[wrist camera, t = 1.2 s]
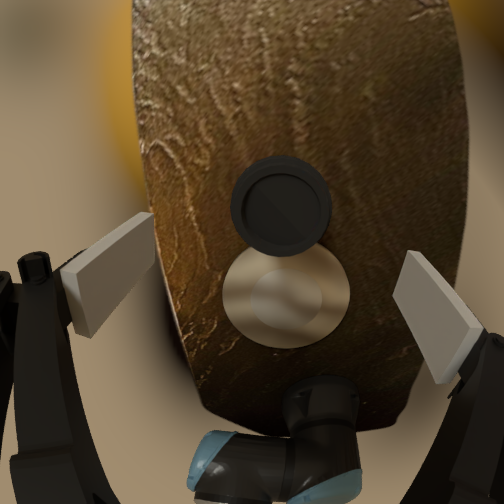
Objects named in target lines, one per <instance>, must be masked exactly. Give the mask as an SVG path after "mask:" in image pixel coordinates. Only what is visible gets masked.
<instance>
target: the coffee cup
mask: <svg viewBox="0 0 504 504" xmlns="http://www.w3.org/2000/svg"><path fill="white" fill-rule="evenodd" d="M230 209H231V216H232V221H233V223H234V226H235V228H236V230H237V232H238V233H239V235H240V236H241V237H242V238H243V240H244V241H245V242H246V243H247V244H249V245H250V246H251V247H252V248H254V249H255V250H256V251H259V252H261V253H263V254H265V255H269V256H274V257H291V256H294V255H297V254H300V253H303V252H304V251H306V250H308V249H309V248H311V247H312V246H314V245H315V244H316V243H317V242H318V241H319V240H320V238H321V237H322V236H323V235H324V233H325V231H326V229H327V228H328V226H329V223H330V218H331V214H332V202H331V195H330V192H329V189H328V186H327V183H326V182H325V180H324V179H323V177H322V176H321V174H320V173H319V172H318V171H317V170H316V169H315V168H314V167H312V166H311V165H310V164H309V163H307V162H305V161H302V160H300V159H298V158H295V157H290V156H284V155H281V156H270V157H267V158H264V159H261V160H259V161H256V162H255V163H254V164H252V165H251V166H249V167H248V168H247V169H246V170H245V171H244V172H243V173H242V175H241V176H240V177H239V178H238V180H237V182H236V185H235V187H234V189H233V193H232V198H231V205H230Z"/></svg>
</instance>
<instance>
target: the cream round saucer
mask: <svg viewBox="0 0 504 504" xmlns="http://www.w3.org/2000/svg"><path fill="white" fill-rule="evenodd" d="M349 298H350V289H349V283H348V279H347V277H346V274H345V271H344V269H343V267H342V265H341V263H340V262H339V260H338V259H337V258H336V257H335V255H333V254H332V253H331V252H330V251H329V250H328V249H326V248H325V247H324V246H322V245H320V244H318V243H316V244H315V245H314V246H312V247H311V248H309V249H308V250H306V251H304V252H303V253H300V254H297V255H294V256H291V257H274V256H269V255H265V254H263V253H261V252H259V251H256V250H255V249H254V248H252V247H251V246H250V247H248V248H247V249H245V250H244V251H243V252H242V253H241V254H240V255H239V256H238V257H237V258H236V259H235V260H234V262H233V263H232V265H231V266H230V269H229V271H228V273H227V275H226V278H225V281H224V285H223V304H224V308H225V311H226V313H227V315H228V317H229V319H230V321H231V322H232V324H233V325H234V326H235V327H236V328H237V329H238V330H239V331H240V332H241V333H242V334H243V335H245V336H246V337H248V338H249V339H251V340H253V341H255V342H257V343H260V344H262V345H266V346H269V347H275V348H297V347H302V346H306V345H309V344H312V343H314V342H317V341H319V340H321V339H322V338H324V337H325V336H327V335H328V334H329V333H331V332H332V331H333V330H334V329H335V328H336V327H337V326H338V324H339V323H340V322H341V320H342V319H343V317H344V315H345V313H346V311H347V308H348V304H349Z"/></svg>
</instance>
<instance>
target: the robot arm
mask: <svg viewBox="0 0 504 504" xmlns="http://www.w3.org/2000/svg"><path fill="white" fill-rule="evenodd" d="M154 262H155V255H154V214H153V213H144V212H140V213H138V214H137V215H135V216H134V217H133V218H131V219H129V220H128V221H126V222H125V223H123V224H122V225H120V226H119V227H118V228H116V229H115V230H113V231H112V232H110V233H109V234H108V235H106V236H105V237H103V238H102V239H100V240H99V241H98V242H96V243H95V244H93V245H92V246H91V247H89V248H87V249H85V250H82V251H80V252H79V253H77V254H76V255H74V256H73V258H70V259H69V260H68V261H67V262H65V263H64V264H63V265H61V266H60V267H58V268H57V269H56V270H55V271H53V272H52V268H51V263H50V257H49V254H48V253H46V252H41V251H38V252H32V253H29V254H26V255H24V256H22V257H21V258H20V259H19V260H18V262H17V264H18V268H19V272H20V276H21V280H22V284H19V283H18V284H17V283H12V279H11V276H10V273H9V272H6V271H0V458H1V448H2V439H3V432H4V426H5V420H6V414H7V409H8V404H9V399H10V394H11V390H12V386H13V382H14V410H15V422H16V433H17V441H18V454H16V455H12V456H11V458H10V461H9V462H10V473H11V479H12V484H13V488H14V493H15V497H16V501H17V504H120V502H119V501H118V499H117V497H116V496H115V494H114V492H113V491H112V489H111V487H110V485H109V482H108V480H107V478H106V475H105V473H104V470H103V468H102V465H101V462H100V460H99V457H98V454H97V451H96V448H95V445H94V442H93V439H92V436H91V433H90V430H89V426H88V423H87V419H86V416H85V412H84V409H83V405H82V401H81V396H80V393H79V388H78V383H77V379H76V374H75V369H74V363H73V358H72V352H71V346H70V340H69V333H68V330H67V326H68V325H69V324H70V323H71V322H72V323H73V326H74V330H75V333H76V334H79V335H82V336H85V337H87V338H90V339H91V338H92V337H93V335H94V334H95V333H96V332H97V330H98V329H99V328H100V327H101V325H102V324H103V323H104V322H105V320H106V319H107V318H108V317H109V315H110V314H111V313H112V312H113V310H114V309H115V308H116V307H117V306H118V305H119V303H120V302H121V301H122V300H123V299H124V297H125V296H126V295H127V294H128V293H129V291H130V290H131V289H132V288H133V287H134V285H135V284H136V283H137V282H138V281H139V280H140V279H141V277H142V276H143V275H144V274H145V273H146V272H147V271H148V269H149V268H150V267H151V266H152V265H153V264H154ZM393 298H394V299H395V301H396V303H397V305H398V307H399V309H400V311H401V312H402V314H403V316H404V318H405V320H406V322H407V324H408V326H409V328H410V330H411V332H412V334H413V336H414V338H415V340H416V342H417V344H418V346H419V348H420V350H421V352H422V354H423V356H424V358H425V360H426V363H427V365H428V367H429V369H430V371H431V374H432V376H433V378H434V380H435V382H436V384H444V383H450V382H451V381H452V380H453V378H454V377H455V375H456V374H457V372H458V373H459V375H460V377H461V379H460V381H459V382H458V384H457V385H456V386H455V388H454V389H453V390H452V392H451V393H450V394H449V396H448V397H447V398H448V399H449V398H450V397H451V396H452V399H451V402H450V404H449V407H448V410H447V412H446V415H445V417H444V420H443V422H442V425H441V427H440V429H439V432H438V434H437V436H436V438H435V440H434V443H433V445H432V447H431V449H430V451H429V453H428V455H427V457H426V459H425V461H424V463H423V464H422V466H421V468H420V470H419V472H418V474H417V475H416V477H415V479H414V481H413V483H412V485H411V486H410V488H409V489H408V491H407V492H406V494H405V496H404V497H403V499H402V500H401V502H400V504H504V337H502V336H501V335H499V334H496V333H488V332H487V331H486V329H485V328H484V327H483V325H482V324H481V323H480V321H479V320H478V319H477V318H476V316H475V315H474V314H473V313H472V311H471V310H470V309H469V307H468V306H467V305H466V304H465V303H464V302H463V301H462V300H461V298H460V297H459V296H458V295H457V294H456V292H455V291H454V290H453V289H452V288H451V286H450V285H449V284H448V283H447V282H446V281H445V279H444V278H443V277H442V276H441V275H440V274H439V273H438V272H437V270H436V269H435V268H434V267H433V266H432V265H431V264H430V263H429V262H428V261H427V259H426V258H425V257H424V256H423V255H422V254H421V253H420V252H416V251H410V250H408V251H407V255H406V258H405V261H404V264H403V267H402V270H401V273H400V276H399V279H398V282H397V285H396V287H395V290H394V293H393ZM359 405H360V397H359V392H358V388H357V386H356V385H355V384H354V383H353V382H352V381H350V380H348V379H346V378H344V377H340V376H334V375H321V376H314V377H310V378H306V379H303V380H301V381H299V382H297V383H295V384H293V385H292V386H291V387H289V388H288V389H287V390H286V392H285V393H284V395H283V397H282V414H283V416H284V419H285V422H286V424H287V427H288V429H289V432H290V438H280V437H269V436H259V435H250V434H243V433H238V432H237V431H234V432H228V431H219V430H214V431H210V432H209V433H207V434H206V435H205V436H204V437H203V439H202V440H201V442H200V444H199V446H198V448H197V450H196V452H195V455H194V457H193V460H192V463H191V466H190V469H189V475H188V478H187V487H188V489H190V490H191V491H193V492H195V491H196V492H195V497H194V501H195V503H196V504H272V502H286V504H345V503H348V502H350V501H351V500H353V499H354V498H356V497H357V496H358V495H359V494H360V492H361V489H362V469H361V464H360V457H359V450H358V443H357V437H356V430H355V423H356V419H357V414H358V410H359Z"/></svg>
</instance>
